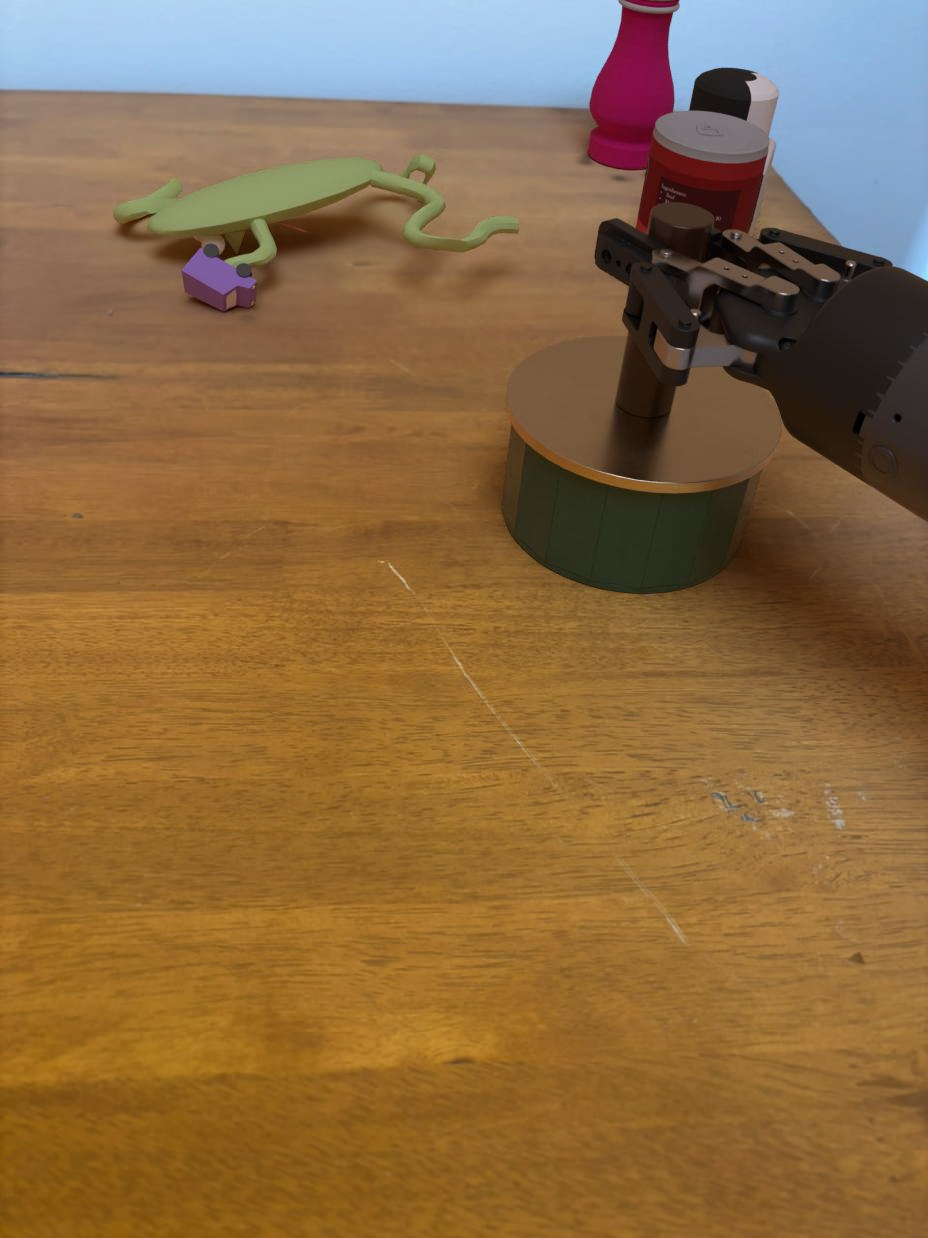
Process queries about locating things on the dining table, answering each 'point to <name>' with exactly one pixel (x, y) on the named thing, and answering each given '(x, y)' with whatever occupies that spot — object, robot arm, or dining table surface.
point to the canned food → (705, 167)
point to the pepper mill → (633, 85)
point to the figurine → (283, 217)
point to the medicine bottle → (740, 107)
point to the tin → (620, 526)
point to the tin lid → (643, 401)
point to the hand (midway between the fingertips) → (630, 233)
